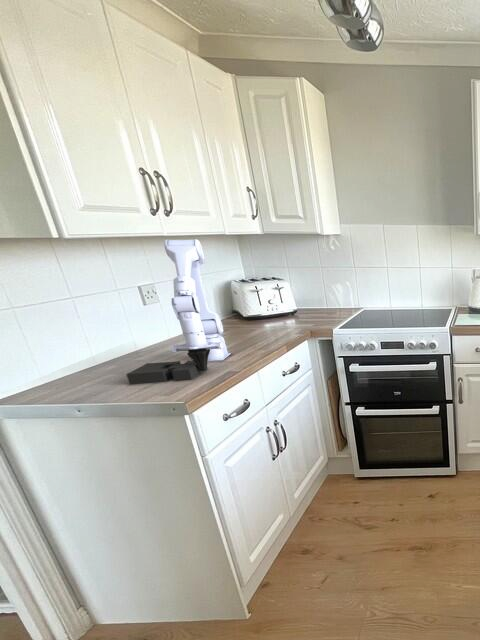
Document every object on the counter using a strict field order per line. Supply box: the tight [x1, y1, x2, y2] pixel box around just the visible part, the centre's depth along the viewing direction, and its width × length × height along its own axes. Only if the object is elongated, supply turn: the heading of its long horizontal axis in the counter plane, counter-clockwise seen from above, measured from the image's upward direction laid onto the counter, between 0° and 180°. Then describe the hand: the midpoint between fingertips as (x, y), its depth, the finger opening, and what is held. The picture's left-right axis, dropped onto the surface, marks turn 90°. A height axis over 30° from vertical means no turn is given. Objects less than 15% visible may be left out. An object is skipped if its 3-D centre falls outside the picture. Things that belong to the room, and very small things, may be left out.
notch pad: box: [126, 360, 182, 385], centre depth 140 cm, size 12×10×4 cm
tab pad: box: [168, 359, 204, 382], centre depth 142 cm, size 12×8×4 cm, turn 15°
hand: (204, 370), depth 143 cm, fingers closed
